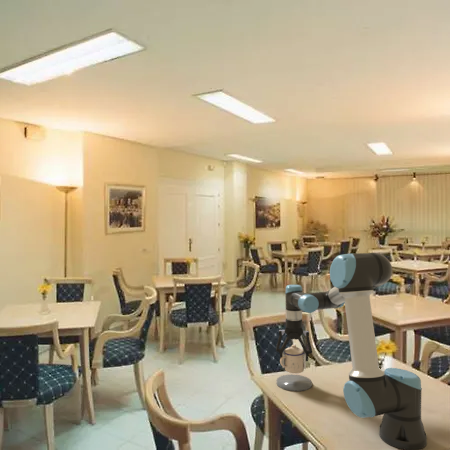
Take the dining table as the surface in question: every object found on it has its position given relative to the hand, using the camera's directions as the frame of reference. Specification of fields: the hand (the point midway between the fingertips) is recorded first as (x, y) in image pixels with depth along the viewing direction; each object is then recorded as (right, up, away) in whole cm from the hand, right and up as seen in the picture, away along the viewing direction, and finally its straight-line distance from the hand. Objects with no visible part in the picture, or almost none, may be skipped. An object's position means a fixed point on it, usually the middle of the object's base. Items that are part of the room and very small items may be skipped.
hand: (294, 367), depth 188 cm
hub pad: (0, -8, 0) cm, 8 cm away
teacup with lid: (-1, -2, 0) cm, 2 cm away
